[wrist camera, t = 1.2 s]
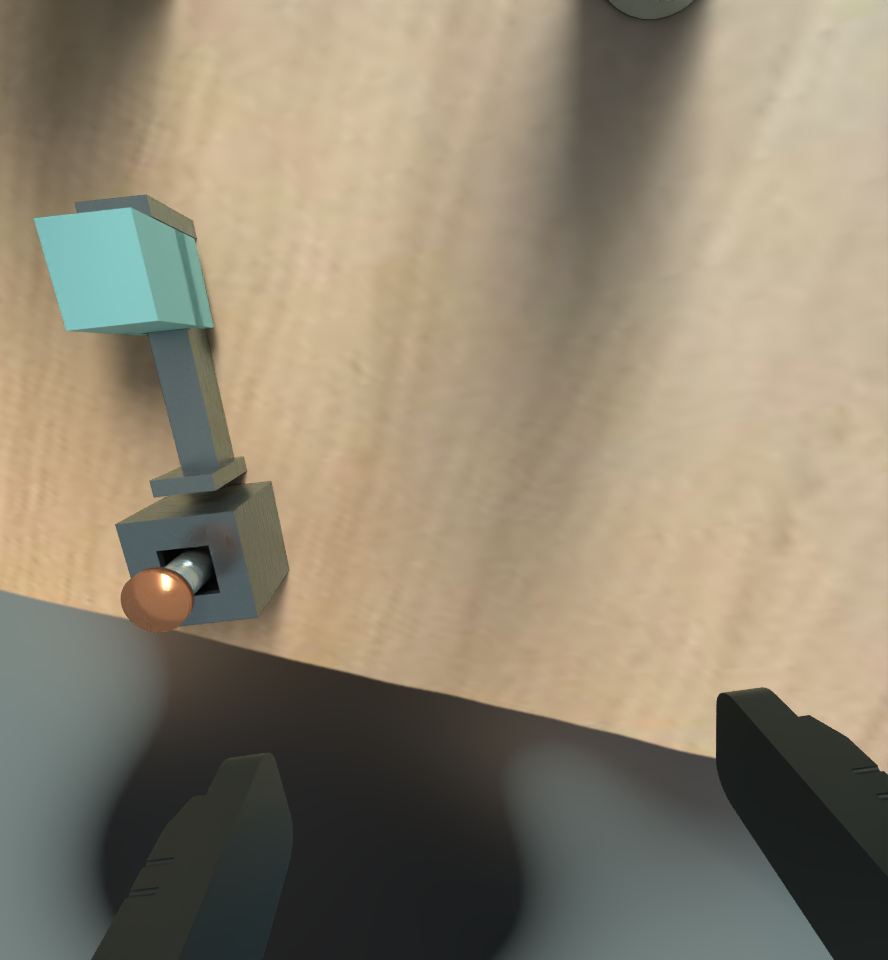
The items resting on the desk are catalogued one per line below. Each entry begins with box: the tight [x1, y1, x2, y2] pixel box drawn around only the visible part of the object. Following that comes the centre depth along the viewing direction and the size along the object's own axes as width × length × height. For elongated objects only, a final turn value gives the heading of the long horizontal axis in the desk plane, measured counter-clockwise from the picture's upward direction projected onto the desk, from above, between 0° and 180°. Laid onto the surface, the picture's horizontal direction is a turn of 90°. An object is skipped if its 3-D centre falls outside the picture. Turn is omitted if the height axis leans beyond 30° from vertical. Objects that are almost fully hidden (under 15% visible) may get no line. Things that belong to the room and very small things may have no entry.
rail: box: [75, 195, 247, 497], centre depth 35 cm, size 19×4×6 cm, turn 6°
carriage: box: [34, 207, 214, 336], centre depth 31 cm, size 6×5×8 cm
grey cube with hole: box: [115, 481, 289, 626], centre depth 38 cm, size 8×8×8 cm
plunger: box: [121, 545, 215, 632], centre depth 33 cm, size 4×4×7 cm
